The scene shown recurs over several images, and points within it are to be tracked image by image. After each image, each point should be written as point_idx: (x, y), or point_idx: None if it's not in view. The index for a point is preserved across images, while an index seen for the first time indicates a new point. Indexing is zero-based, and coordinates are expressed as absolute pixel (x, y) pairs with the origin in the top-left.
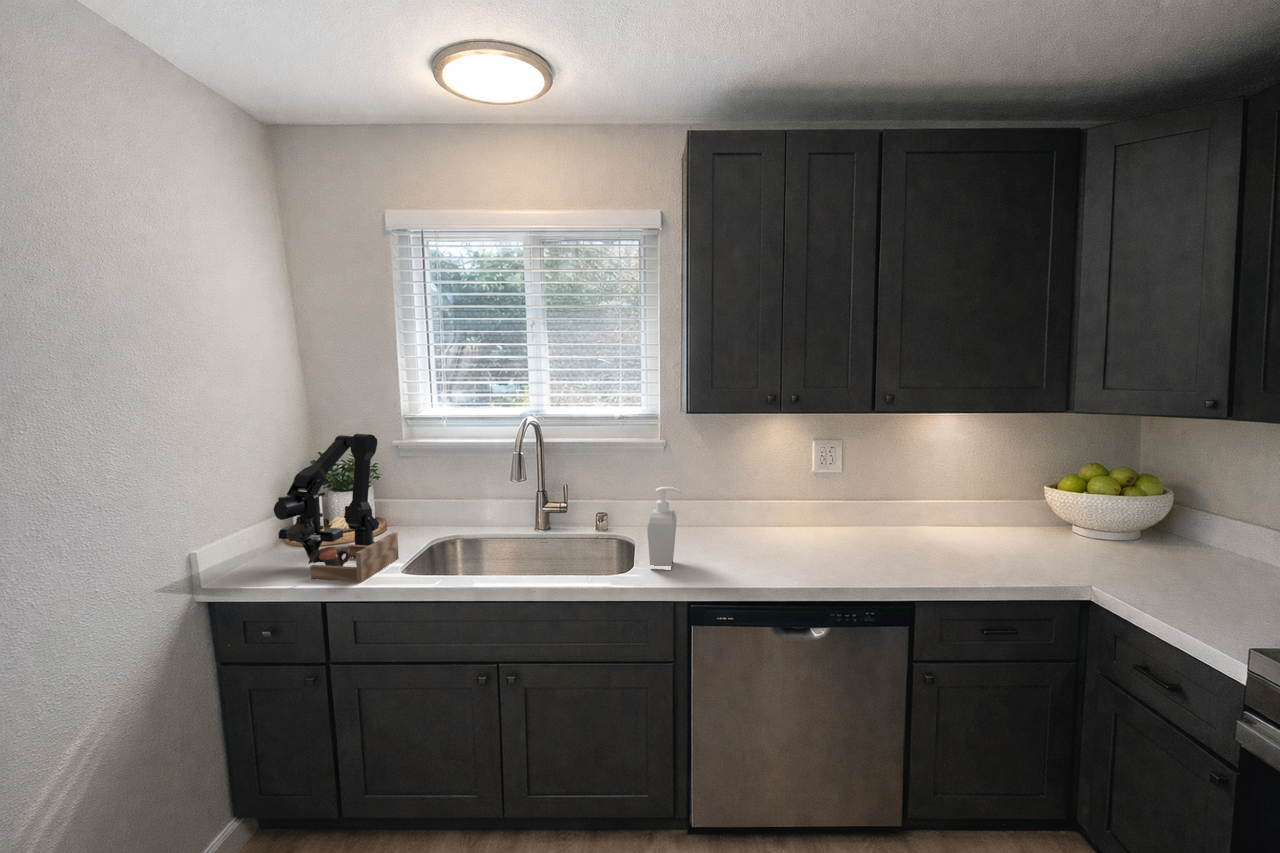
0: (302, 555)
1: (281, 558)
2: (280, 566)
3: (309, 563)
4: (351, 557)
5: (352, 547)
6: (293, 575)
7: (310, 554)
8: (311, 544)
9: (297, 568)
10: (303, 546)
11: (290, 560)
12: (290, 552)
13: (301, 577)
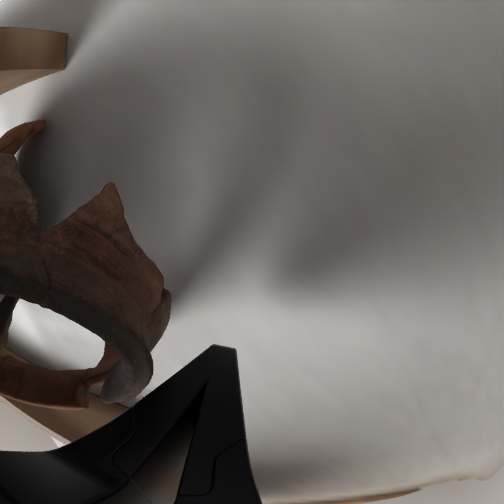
0: (405, 447)
1: (498, 405)
2: (497, 300)
3: (103, 188)
4: (117, 405)
5: None
6: (265, 59)
7: (25, 265)
8: (51, 470)
9: (348, 262)
10: (255, 500)
11: (454, 396)
12: (463, 454)
13: (152, 33)
